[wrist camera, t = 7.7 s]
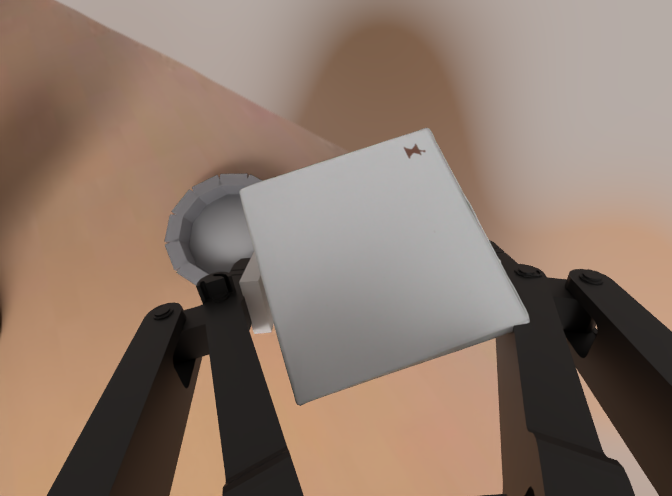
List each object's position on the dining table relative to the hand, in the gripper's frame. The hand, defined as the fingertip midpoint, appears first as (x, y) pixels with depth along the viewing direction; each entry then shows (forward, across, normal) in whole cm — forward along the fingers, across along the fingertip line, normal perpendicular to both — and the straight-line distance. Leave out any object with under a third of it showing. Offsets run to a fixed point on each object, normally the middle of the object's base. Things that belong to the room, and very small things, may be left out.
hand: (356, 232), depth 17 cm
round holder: (+14, -13, -6) cm, 20 cm away
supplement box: (+1, 0, -6) cm, 6 cm away
